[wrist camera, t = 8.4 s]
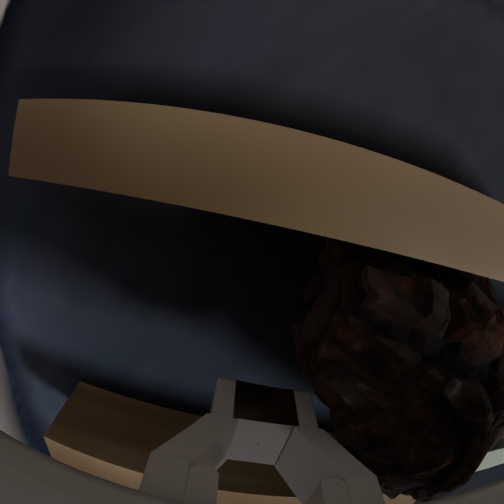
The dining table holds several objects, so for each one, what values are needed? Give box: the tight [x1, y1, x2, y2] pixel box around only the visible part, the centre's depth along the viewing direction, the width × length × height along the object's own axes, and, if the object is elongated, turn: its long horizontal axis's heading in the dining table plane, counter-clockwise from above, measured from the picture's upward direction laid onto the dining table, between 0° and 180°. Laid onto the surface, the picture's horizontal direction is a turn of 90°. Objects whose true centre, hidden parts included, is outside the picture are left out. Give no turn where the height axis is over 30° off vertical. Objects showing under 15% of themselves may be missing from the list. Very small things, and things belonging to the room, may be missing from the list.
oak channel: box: [8, 99, 504, 504], centre depth 10 cm, size 14×17×4 cm
